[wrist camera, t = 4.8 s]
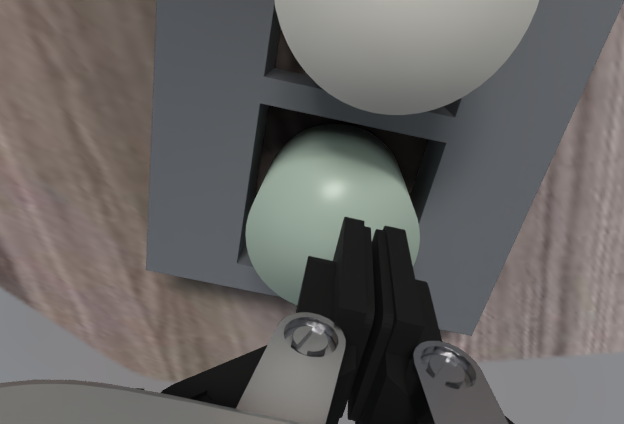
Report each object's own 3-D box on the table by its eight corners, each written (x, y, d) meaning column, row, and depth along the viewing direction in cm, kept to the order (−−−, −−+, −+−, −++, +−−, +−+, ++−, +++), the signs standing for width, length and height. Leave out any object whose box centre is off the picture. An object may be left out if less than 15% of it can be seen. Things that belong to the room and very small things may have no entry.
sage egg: (420, 140, 17) (444, 180, 13) (382, 261, 19) (392, 326, 15) (278, 110, 17) (258, 141, 13) (257, 235, 19) (235, 294, 15)
